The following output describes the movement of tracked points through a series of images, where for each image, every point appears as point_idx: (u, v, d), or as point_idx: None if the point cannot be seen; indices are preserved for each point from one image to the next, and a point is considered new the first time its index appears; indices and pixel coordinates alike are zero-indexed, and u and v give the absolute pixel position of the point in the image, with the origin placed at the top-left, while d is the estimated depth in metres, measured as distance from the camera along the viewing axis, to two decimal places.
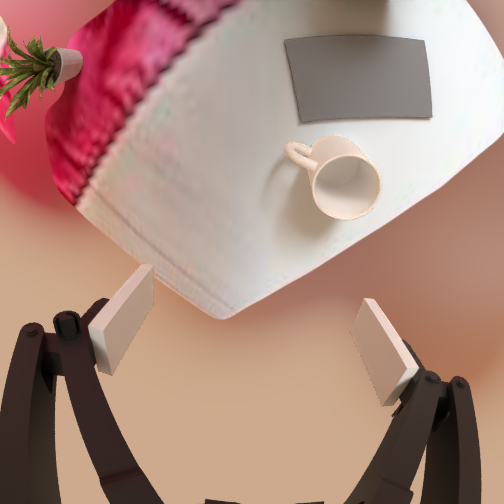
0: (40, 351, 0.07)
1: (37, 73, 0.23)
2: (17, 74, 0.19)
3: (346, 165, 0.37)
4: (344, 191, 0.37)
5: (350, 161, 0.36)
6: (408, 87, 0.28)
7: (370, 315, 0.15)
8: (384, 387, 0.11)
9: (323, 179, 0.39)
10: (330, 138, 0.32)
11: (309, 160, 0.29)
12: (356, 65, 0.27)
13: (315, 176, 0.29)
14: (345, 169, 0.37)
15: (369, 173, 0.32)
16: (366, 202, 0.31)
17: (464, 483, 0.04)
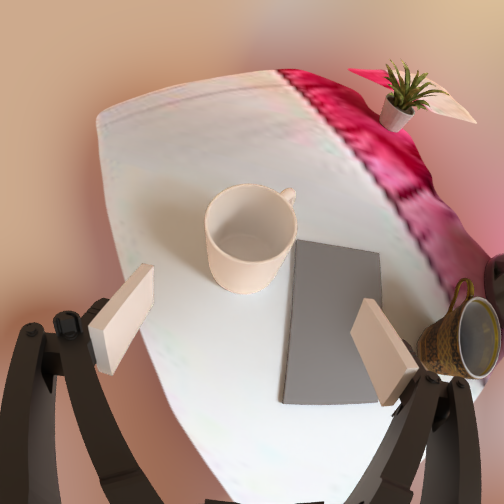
0: (40, 351, 0.07)
1: None
2: (414, 82, 0.38)
3: None
4: None
5: None
6: (324, 373, 0.28)
7: (369, 316, 0.15)
8: (384, 387, 0.11)
9: (223, 244, 0.34)
10: None
11: (287, 200, 0.27)
12: (351, 313, 0.31)
13: (275, 192, 0.26)
14: None
15: None
16: None
17: (464, 483, 0.04)
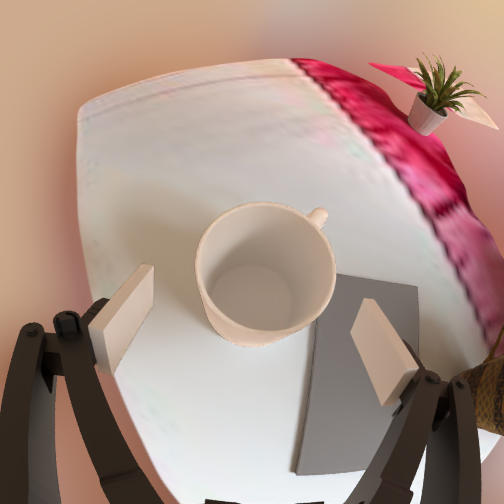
0: (40, 351, 0.07)
1: None
2: (449, 80, 0.29)
3: (238, 320, 0.24)
4: None
5: None
6: (348, 438, 0.20)
7: (369, 315, 0.15)
8: (384, 387, 0.11)
9: (224, 277, 0.25)
10: None
11: (318, 226, 0.19)
12: None
13: (304, 216, 0.17)
14: (232, 316, 0.24)
15: None
16: None
17: (464, 483, 0.04)
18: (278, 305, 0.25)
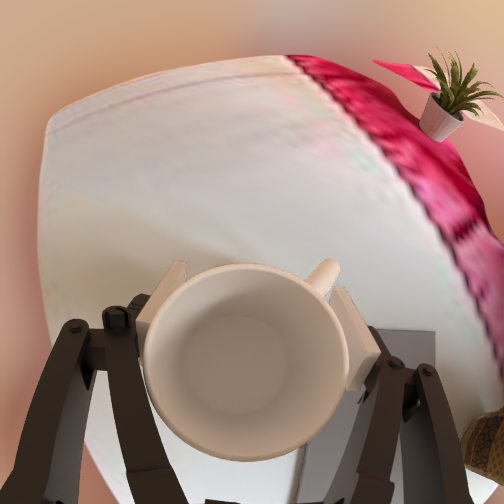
0: (82, 348, 0.08)
1: None
2: (467, 79, 0.24)
3: (220, 386, 0.18)
4: (178, 365, 0.16)
5: (227, 396, 0.18)
6: None
7: (338, 302, 0.16)
8: (348, 371, 0.12)
9: (203, 333, 0.19)
10: None
11: (325, 291, 0.13)
12: None
13: (306, 285, 0.11)
14: (212, 382, 0.18)
15: (227, 430, 0.12)
16: (172, 406, 0.10)
17: (447, 474, 0.05)
18: (270, 369, 0.19)
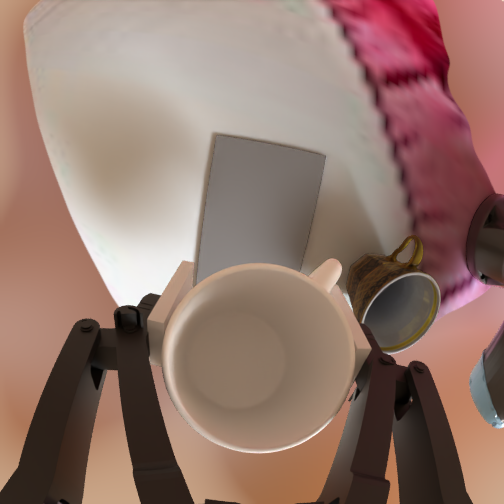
0: (93, 348, 0.09)
1: None
2: None
3: (222, 382, 0.18)
4: (182, 362, 0.16)
5: (229, 391, 0.18)
6: None
7: None
8: None
9: (204, 330, 0.20)
10: None
11: (330, 289, 0.14)
12: (271, 225, 0.31)
13: (315, 283, 0.12)
14: (214, 378, 0.18)
15: (236, 424, 0.13)
16: (188, 404, 0.11)
17: (443, 473, 0.05)
18: (270, 364, 0.20)
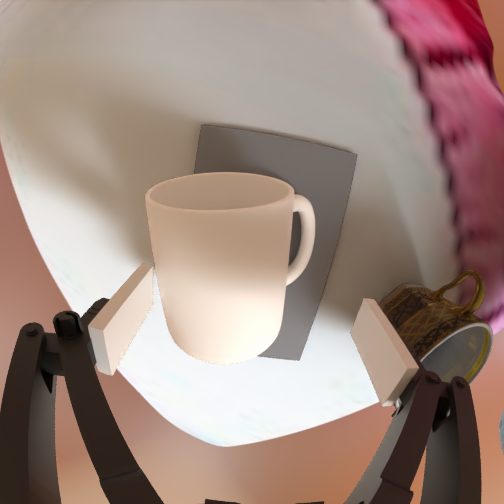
0: (40, 351, 0.07)
1: None
2: None
3: None
4: None
5: None
6: None
7: (370, 316, 0.15)
8: (384, 387, 0.11)
9: None
10: (283, 306, 0.17)
11: (293, 201, 0.18)
12: None
13: (272, 177, 0.17)
14: None
15: None
16: None
17: (464, 483, 0.04)
18: None
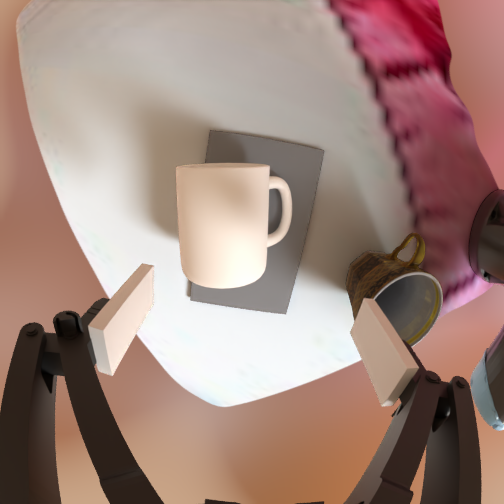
0: (40, 351, 0.07)
1: None
2: None
3: None
4: None
5: None
6: None
7: (369, 316, 0.15)
8: (384, 387, 0.11)
9: None
10: (265, 249, 0.25)
11: (273, 180, 0.26)
12: None
13: (258, 164, 0.26)
14: None
15: None
16: None
17: (464, 483, 0.04)
18: None
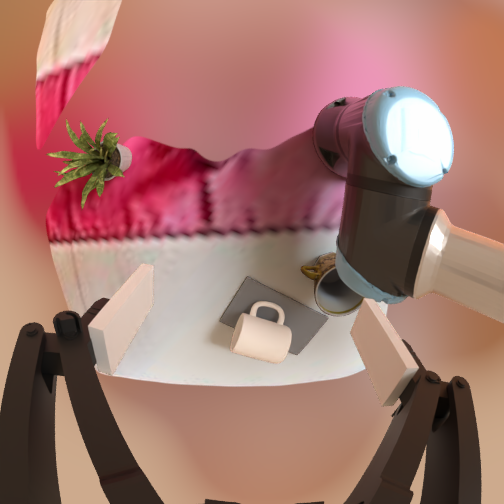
0: (40, 351, 0.07)
1: (96, 161, 0.38)
2: (85, 163, 0.34)
3: None
4: None
5: None
6: (294, 336, 0.58)
7: (369, 315, 0.15)
8: (384, 387, 0.11)
9: None
10: (279, 332, 0.51)
11: (252, 310, 0.54)
12: (273, 313, 0.56)
13: (243, 313, 0.54)
14: None
15: None
16: None
17: (464, 483, 0.04)
18: None
